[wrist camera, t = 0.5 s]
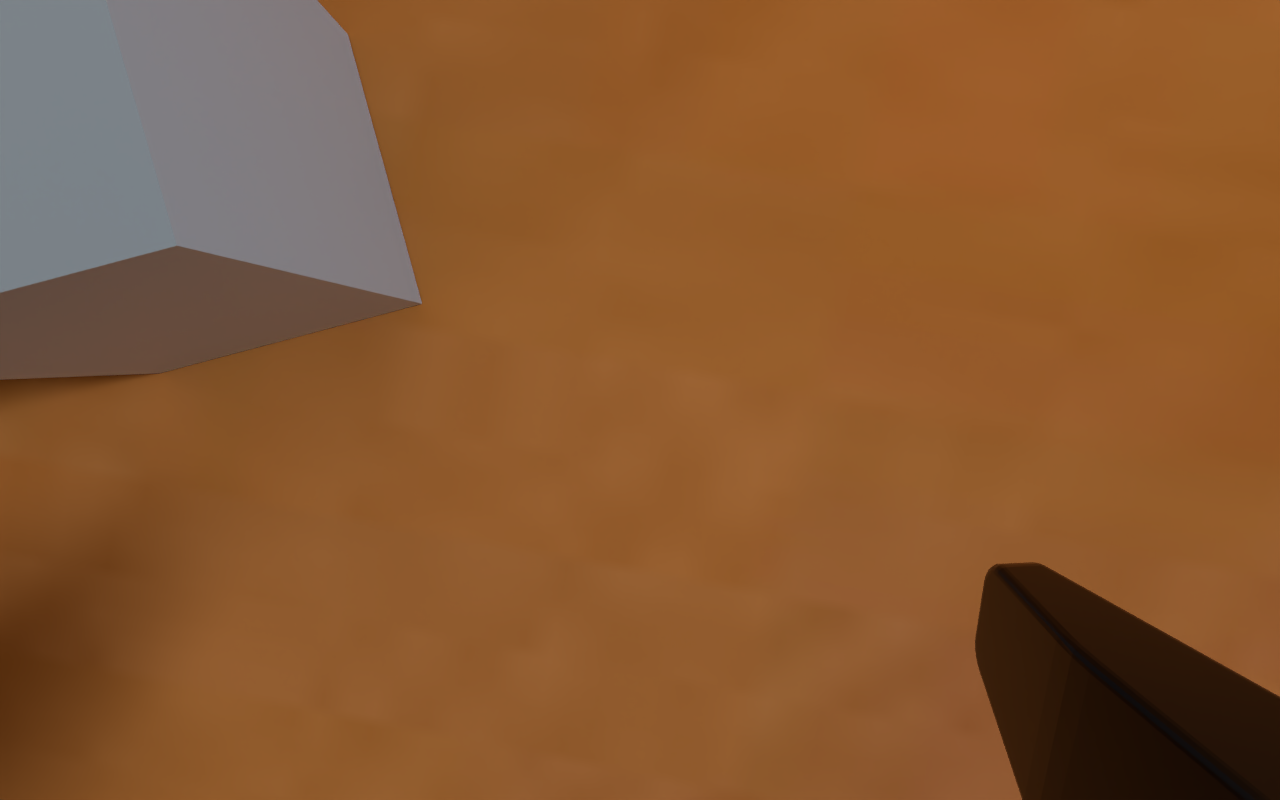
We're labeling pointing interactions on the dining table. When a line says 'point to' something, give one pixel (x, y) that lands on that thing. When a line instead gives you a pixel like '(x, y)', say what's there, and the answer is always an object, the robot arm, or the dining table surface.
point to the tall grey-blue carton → (184, 184)
